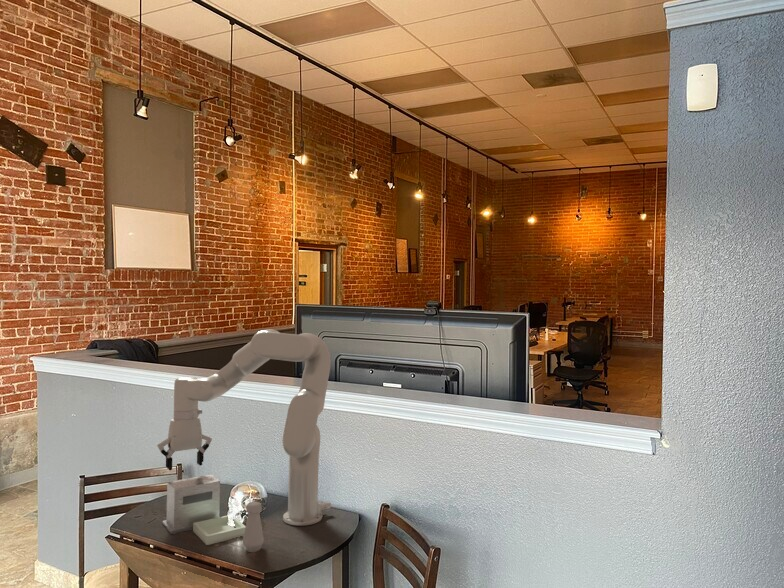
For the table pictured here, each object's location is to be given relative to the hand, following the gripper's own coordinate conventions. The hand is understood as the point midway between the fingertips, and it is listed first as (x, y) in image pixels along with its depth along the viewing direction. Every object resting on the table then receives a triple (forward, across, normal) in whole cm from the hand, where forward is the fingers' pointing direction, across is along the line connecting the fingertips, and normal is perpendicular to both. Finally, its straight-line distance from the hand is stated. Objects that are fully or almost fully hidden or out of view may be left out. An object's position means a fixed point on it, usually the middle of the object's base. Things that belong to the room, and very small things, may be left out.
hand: (184, 466), depth 185 cm
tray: (+15, -4, +22) cm, 27 cm away
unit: (+15, 0, +10) cm, 18 cm away
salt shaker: (+16, -8, +38) cm, 42 cm away
